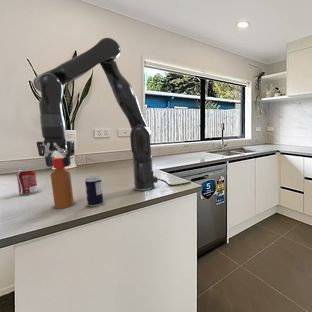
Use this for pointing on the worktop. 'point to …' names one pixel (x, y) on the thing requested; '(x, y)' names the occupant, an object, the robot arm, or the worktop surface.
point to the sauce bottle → (62, 188)
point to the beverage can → (94, 190)
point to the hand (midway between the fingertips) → (58, 166)
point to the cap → (58, 163)
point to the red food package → (27, 181)
